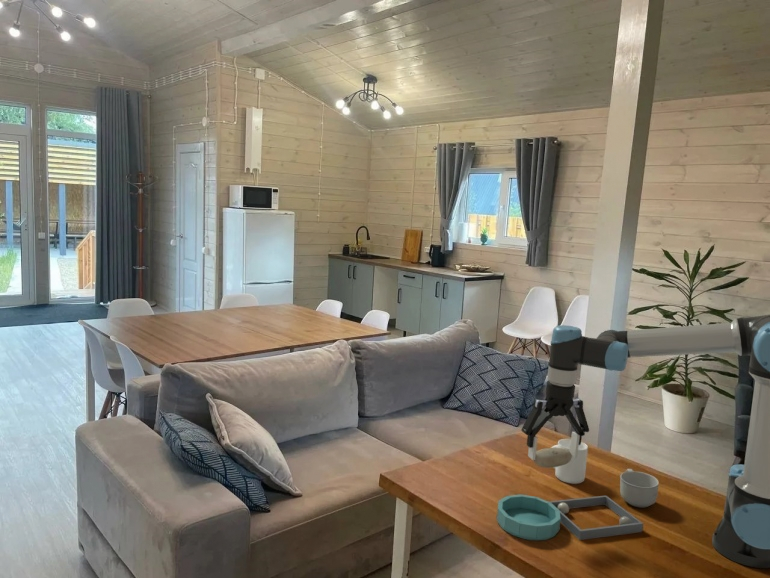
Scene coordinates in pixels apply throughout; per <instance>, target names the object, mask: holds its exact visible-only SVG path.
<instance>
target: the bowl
mask: <svg viewBox="0 0 770 578" xmlns="http://www.w3.org/2000/svg"><path fill="white" fill-rule="evenodd" d="M496 512H497V515H496V522H497V523H498V525H499V526H500V528H501V529H502V530H504V531H505V532H506V533H508V534H509V535H512V536H514V537H516V538H520V539H522V540H528V541H546V540H550V539H552V538H554V537H555V536H556V535H557V534H558V533H559V531H560V528H561V522H560V511H559V510H558V509H557V508H556V507H555V506H554V505H553V504H552V503H550V502H549V501H548V500H545V499H542V498H541V497H538V496H533V495H526V494H512V495H511V494H510V495H507V496H505V497H502V498H500V499H499V500H498V504H497V511H496Z"/></svg>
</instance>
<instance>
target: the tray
mask: <svg viewBox="0 0 770 578" xmlns="http://www.w3.org/2000/svg"><path fill="white" fill-rule="evenodd" d="M548 502H550V503H552V504H553V505H554V506H555V507H556V508H557V509H558V505H559V504H560V503H566V504H567V505H568V506H569V509H576V508H586V507H595V506H604V505H605V506H606V507H607V508H609V509H610V510H611V511H612V512H613V513H615V514H616V515H618V516H619V517H620V518H621V517H623V516H626V517H628V518H629V519H630V520H631V524H623V525H620V524H616V525H608V526H599V527H592V528H591V527H590V528H584V529H581V528H580V527H579V526H578V525H576V523H575V522H573V521H572V520H571V519H570V518H568V516H567V515H566V514H563V513H562V512H561V511H560V510H559V509H558V510H559V511H560V524H562V525H563V526H564V527H565V528H566V529H567V530H568V531H569V532H570V533H571V534H572V535H573V536H575V537H576V538H577V539H578V540H579V541H581V540H582V541H583V540H590V539H597V538H606V537H613V536H619V535H620V536H621V535H628V534H636V533H643V530H644V529H643V528H644V523H643V522H642V521H641V520H640V519H638V518H636V517H635V516H634V515H632V513H630V512H629V511H628V510H627V509H624V508H623V507H622V506H621V505H619V504H618V503H617V502H615V501H614V500H613V499H611V498H610V497H609V496H608V495H600V496H599V495H597V496H589V497H579V498H578V497H577V498H569V499H560V500H559V499H558V500H552V501H551V500H549V501H548Z"/></svg>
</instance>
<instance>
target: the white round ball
mask: <svg viewBox="0 0 770 578" xmlns="http://www.w3.org/2000/svg"><path fill="white" fill-rule="evenodd" d="M558 509H559V510H560V511H561V512H562V513H563V514H564V515H566V514H568V513H569V511H570V508H569V506H568V505H567V504H566V503H560V504H559V505H558Z"/></svg>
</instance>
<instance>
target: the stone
mask: <svg viewBox="0 0 770 578" xmlns="http://www.w3.org/2000/svg"><path fill="white" fill-rule="evenodd" d="M571 458H572V454H571V453H570V452H569V451H568V450H566V449H563V448H551V447H545V448H541V449H538V450H536V457H535V460H533V462H534V463H535V465H537V466H538V467H540V468H546V469H549V468H553V467H558V466H562V465H565V464H567V463H569V462H570V460H571Z"/></svg>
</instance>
